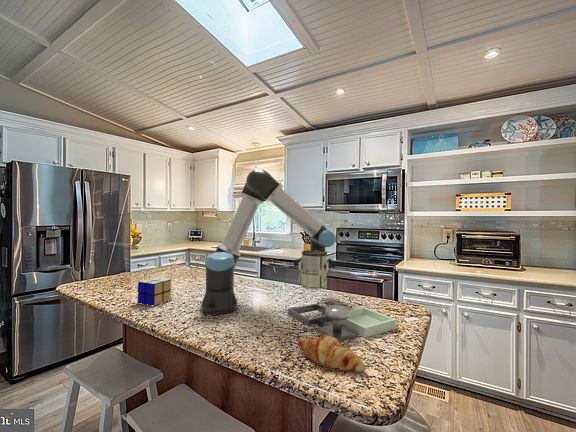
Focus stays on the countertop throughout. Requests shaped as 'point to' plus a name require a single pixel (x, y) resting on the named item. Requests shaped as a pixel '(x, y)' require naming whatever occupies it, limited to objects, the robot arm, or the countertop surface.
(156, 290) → the puzzle cube
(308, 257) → the coffee can
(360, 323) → the tray
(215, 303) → the robot arm
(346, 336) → the door knob
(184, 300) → the countertop surface
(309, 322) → the socket
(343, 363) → the croissant
